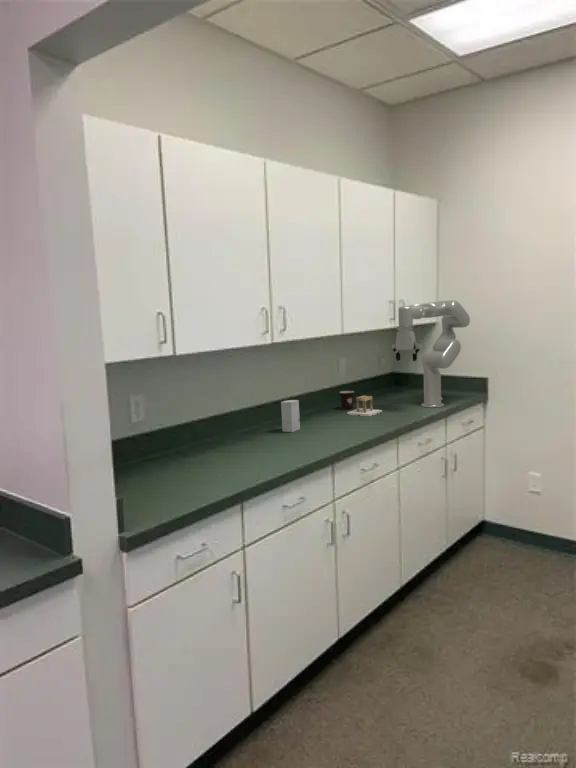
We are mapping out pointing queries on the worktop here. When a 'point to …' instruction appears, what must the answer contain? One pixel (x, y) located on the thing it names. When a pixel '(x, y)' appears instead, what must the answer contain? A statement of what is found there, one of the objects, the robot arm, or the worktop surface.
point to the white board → (361, 413)
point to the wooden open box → (364, 402)
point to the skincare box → (290, 415)
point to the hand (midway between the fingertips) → (406, 360)
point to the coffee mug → (347, 399)
